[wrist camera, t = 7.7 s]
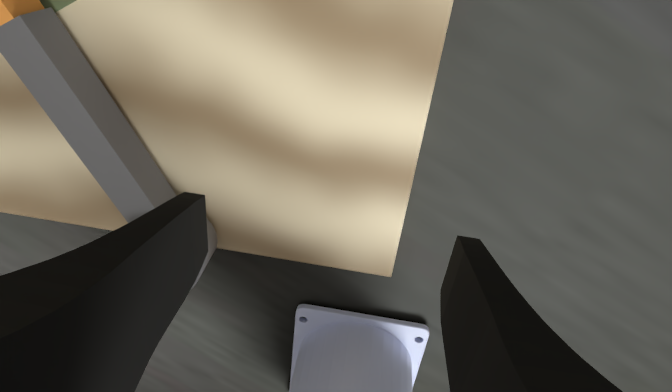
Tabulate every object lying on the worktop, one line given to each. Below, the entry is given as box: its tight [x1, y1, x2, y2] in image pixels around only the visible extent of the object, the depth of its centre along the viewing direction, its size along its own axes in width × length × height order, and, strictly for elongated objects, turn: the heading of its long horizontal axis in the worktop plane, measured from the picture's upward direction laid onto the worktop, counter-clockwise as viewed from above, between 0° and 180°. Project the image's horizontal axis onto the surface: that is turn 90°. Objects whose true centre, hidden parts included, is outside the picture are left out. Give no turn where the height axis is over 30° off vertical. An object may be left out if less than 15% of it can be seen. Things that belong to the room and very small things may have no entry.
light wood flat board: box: [0, 0, 453, 277], centre depth 21 cm, size 15×23×1 cm, turn 84°
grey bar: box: [0, 0, 218, 289], centre depth 20 cm, size 15×4×3 cm, turn 23°
